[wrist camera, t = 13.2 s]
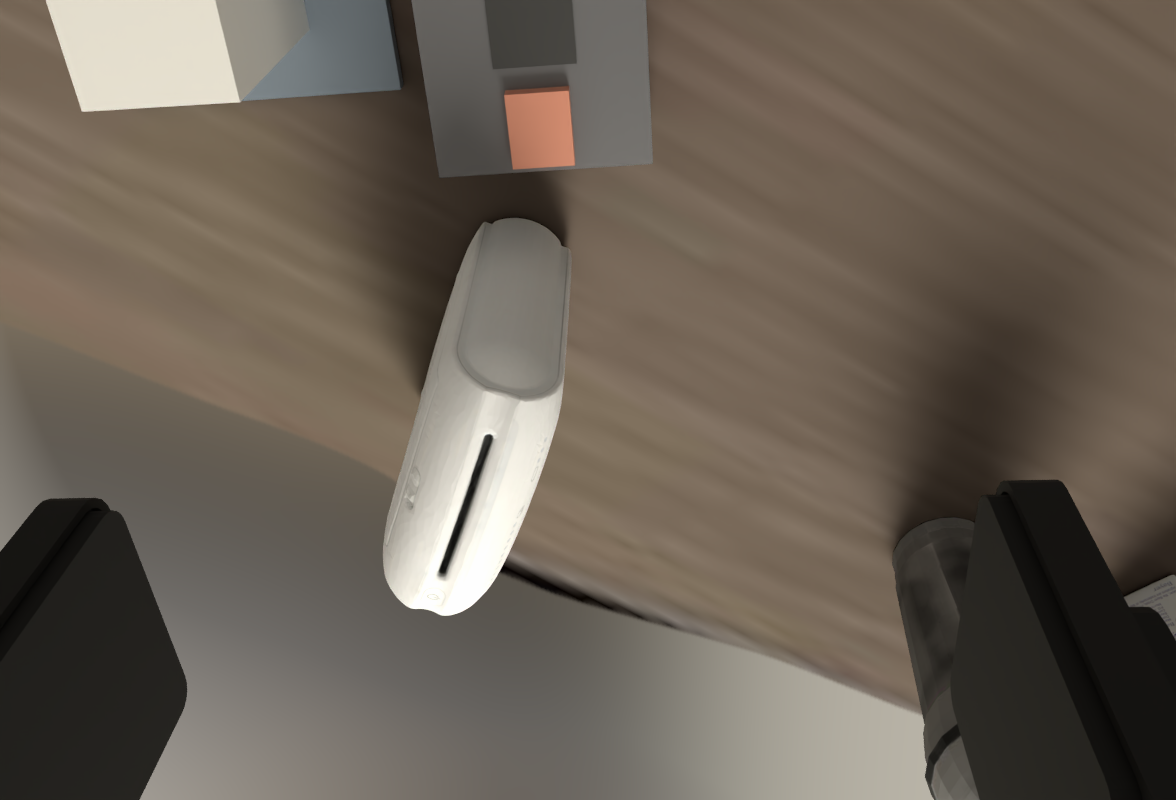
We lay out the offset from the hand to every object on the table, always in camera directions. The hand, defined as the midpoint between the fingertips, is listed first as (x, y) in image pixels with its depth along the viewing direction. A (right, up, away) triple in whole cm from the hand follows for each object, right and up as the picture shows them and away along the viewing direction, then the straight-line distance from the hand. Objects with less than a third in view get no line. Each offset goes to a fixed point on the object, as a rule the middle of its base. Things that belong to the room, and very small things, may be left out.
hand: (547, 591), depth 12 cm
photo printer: (-3, +5, +31) cm, 31 cm away
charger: (-11, +17, +22) cm, 30 cm away
